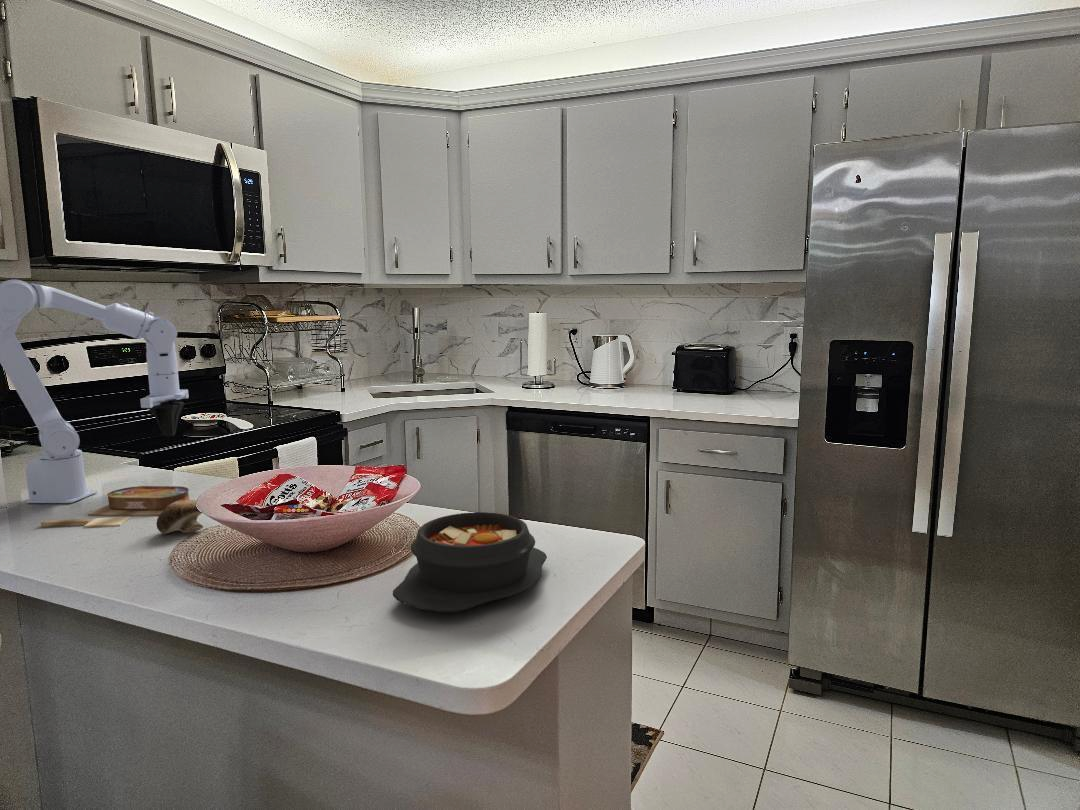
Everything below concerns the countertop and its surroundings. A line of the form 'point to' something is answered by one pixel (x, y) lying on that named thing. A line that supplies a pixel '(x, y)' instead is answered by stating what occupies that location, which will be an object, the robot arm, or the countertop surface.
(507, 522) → the casserole
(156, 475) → the countertop surface
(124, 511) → the tan flat board
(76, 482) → the robot arm
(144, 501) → the tin
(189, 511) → the mushroom
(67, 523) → the turner
